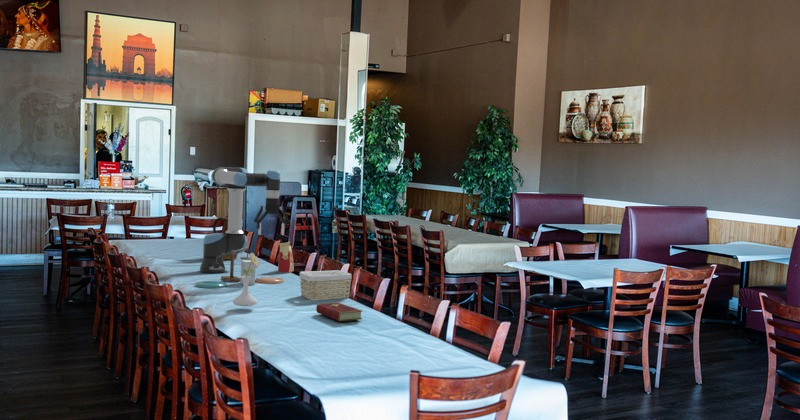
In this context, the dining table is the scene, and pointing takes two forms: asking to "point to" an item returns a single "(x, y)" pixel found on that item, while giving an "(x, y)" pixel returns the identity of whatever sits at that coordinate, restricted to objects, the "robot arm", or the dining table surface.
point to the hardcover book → (339, 311)
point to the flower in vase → (245, 296)
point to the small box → (245, 266)
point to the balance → (231, 277)
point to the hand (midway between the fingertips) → (271, 234)
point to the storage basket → (325, 284)
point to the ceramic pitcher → (225, 228)
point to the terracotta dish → (269, 280)
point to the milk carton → (285, 258)
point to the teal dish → (211, 284)
